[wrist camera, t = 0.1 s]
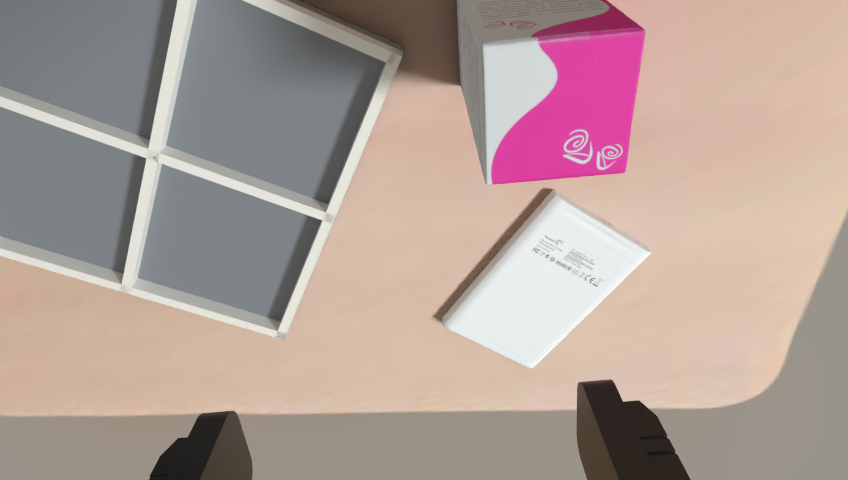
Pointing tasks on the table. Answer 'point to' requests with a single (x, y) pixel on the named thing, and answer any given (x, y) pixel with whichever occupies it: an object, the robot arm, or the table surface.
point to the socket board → (183, 145)
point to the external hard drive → (544, 281)
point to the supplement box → (548, 86)
